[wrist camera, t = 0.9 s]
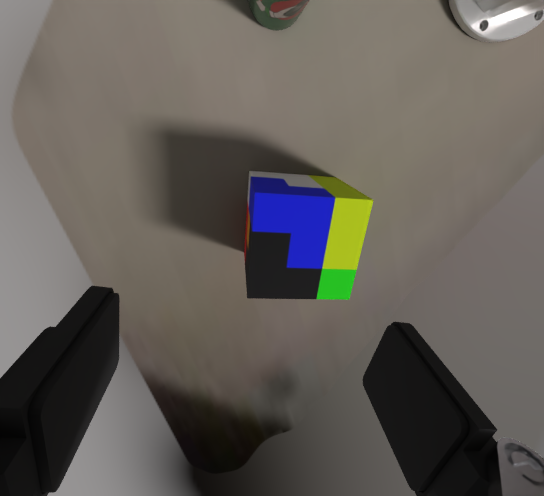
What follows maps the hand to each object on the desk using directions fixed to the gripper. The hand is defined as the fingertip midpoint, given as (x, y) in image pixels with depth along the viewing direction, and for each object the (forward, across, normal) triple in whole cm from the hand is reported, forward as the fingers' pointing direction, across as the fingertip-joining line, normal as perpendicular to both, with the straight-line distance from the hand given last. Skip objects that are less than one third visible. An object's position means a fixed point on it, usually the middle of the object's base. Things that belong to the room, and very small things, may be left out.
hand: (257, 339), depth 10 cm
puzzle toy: (+25, -6, +3) cm, 26 cm away
